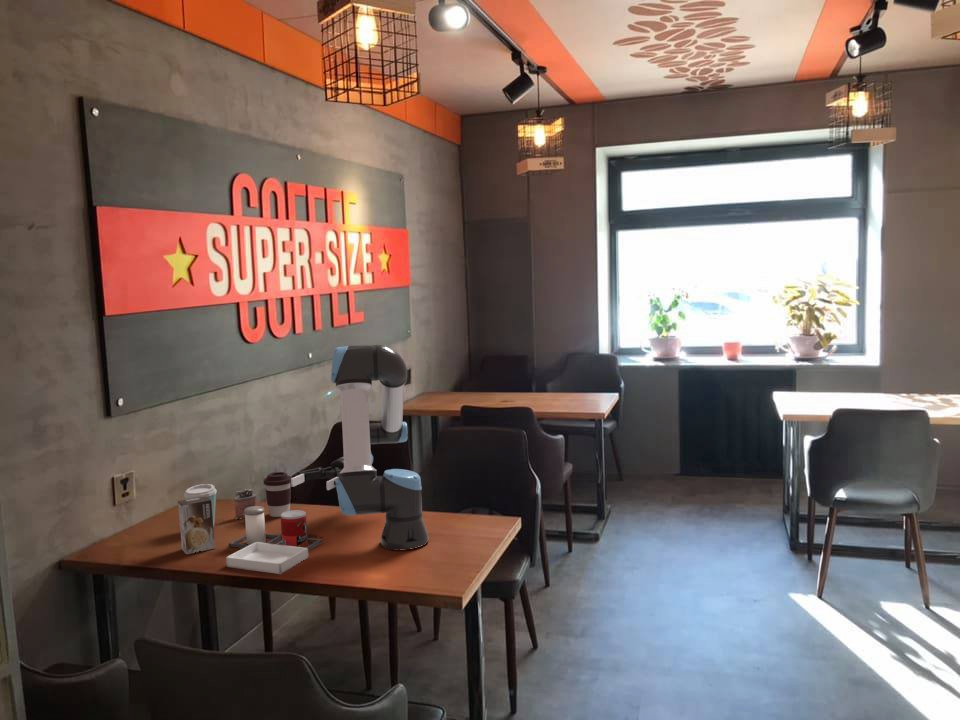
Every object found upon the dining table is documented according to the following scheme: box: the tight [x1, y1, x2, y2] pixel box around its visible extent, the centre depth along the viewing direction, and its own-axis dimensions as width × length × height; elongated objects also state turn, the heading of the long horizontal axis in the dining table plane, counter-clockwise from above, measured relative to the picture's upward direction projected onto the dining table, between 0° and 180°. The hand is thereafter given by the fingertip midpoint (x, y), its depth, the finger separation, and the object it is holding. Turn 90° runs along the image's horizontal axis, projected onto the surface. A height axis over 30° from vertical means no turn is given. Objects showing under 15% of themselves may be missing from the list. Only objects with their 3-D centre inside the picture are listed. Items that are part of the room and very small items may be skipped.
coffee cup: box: [263, 471, 293, 518], centre depth 288 cm, size 10×10×15 cm
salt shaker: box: [244, 505, 267, 545], centre depth 258 cm, size 6×6×11 cm
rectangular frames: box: [228, 532, 323, 552], centre depth 256 cm, size 27×12×1 cm, turn 68°
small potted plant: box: [233, 488, 257, 519], centre depth 287 cm, size 8×3×10 cm, turn 130°
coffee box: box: [177, 496, 216, 555], centre depth 253 cm, size 9×6×16 cm
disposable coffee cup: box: [183, 483, 218, 527], centre depth 272 cm, size 11×11×15 cm
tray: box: [225, 542, 309, 575], centre depth 240 cm, size 19×14×3 cm
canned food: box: [280, 509, 308, 548], centre depth 253 cm, size 8×8×11 cm
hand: (309, 484), depth 261 cm, fingers open, 13 cm apart
